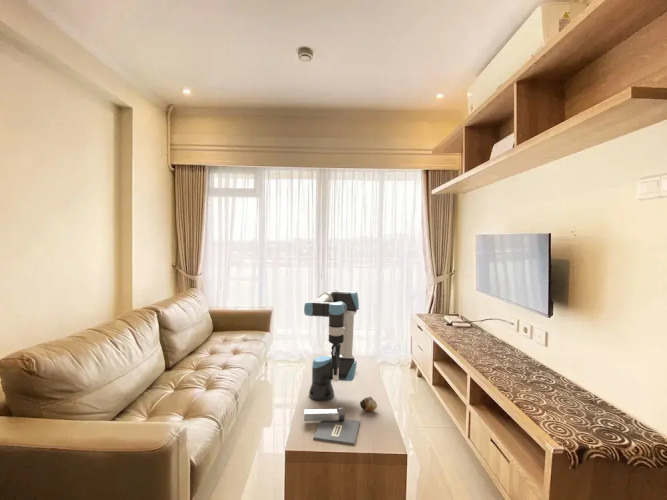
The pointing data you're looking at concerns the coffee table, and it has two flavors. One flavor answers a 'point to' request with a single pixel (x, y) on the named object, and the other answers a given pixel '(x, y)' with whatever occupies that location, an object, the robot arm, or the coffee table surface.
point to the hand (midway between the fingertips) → (335, 380)
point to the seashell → (368, 404)
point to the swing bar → (325, 414)
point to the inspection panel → (338, 431)
